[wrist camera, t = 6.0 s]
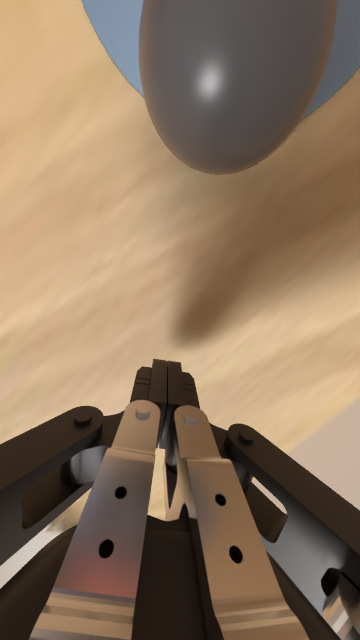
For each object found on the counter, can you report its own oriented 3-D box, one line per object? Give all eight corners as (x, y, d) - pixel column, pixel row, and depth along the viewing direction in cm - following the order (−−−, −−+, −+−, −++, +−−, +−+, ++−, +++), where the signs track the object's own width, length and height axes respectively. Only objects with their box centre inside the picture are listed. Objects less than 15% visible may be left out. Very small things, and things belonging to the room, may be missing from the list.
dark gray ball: (173, 102, 11) (182, 216, 11) (87, -107, 6) (101, 113, 6) (305, 41, 9) (318, 180, 9) (367, -378, 4) (403, -39, 4)
